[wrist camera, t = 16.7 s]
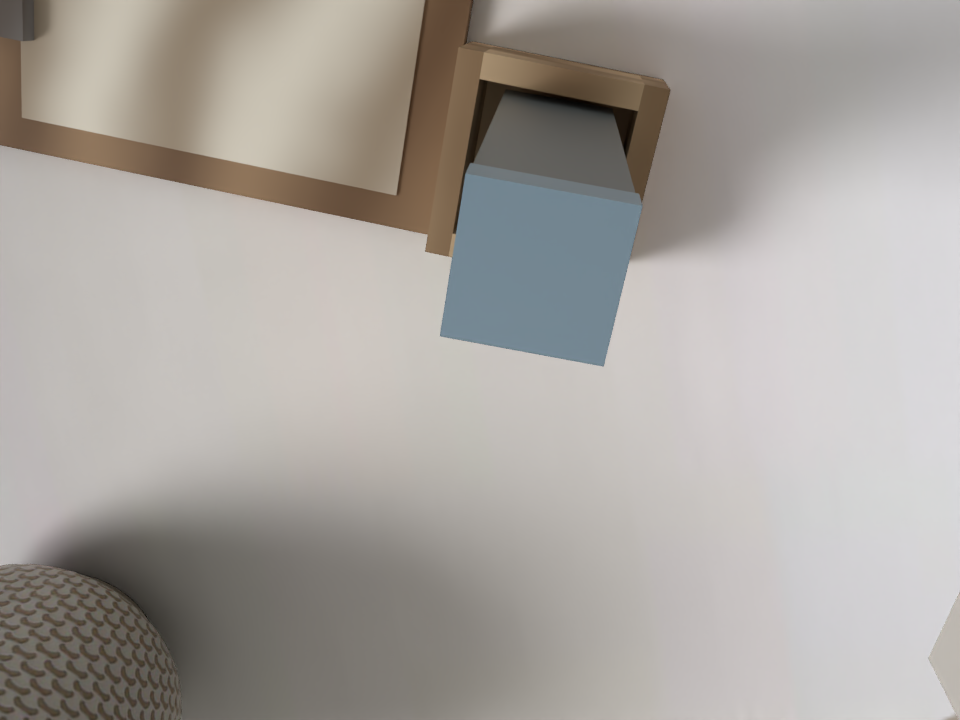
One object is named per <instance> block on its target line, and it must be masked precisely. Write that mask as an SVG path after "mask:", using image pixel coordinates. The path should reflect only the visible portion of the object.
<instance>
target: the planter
mask: <svg viewBox="0 0 960 720" xmlns="http://www.w3.org/2000/svg"><path fill="white" fill-rule="evenodd" d="M181 711H182V700H181V687H180V682H179V678H178V674H177V670H176V667H175V664H174V661H173V659H172V657H171V655H170V652H169V650H168V648H167V646H166V644H165V642H164V641H163V639H162V638H161V636H160V635H159V633H158V631H157V630H156V629H155V628H154V626H153V625H152V624H151V623H150V622H149V620H148V619H147V617H146V616H145V614H144V613H143V611H142V610H141V609H140V608H139V607H138V605H137V604H136V603H135V602H134V601H133V600H132V599H130V598H129V597H128V596H127V595H126V594H124V593H123V592H122V591H120V590H119V589H117V588H116V587H114V586H112V585H110V584H108V583H106V582H104V581H101V580H99V579H96V578H93V577H89V576H85V575H81V574H79V573H76V572H73V571H69V570H65V569H61V568H58V567H52V566H45V565H37V564H8V565H2V566H0V720H180V719H181Z"/></svg>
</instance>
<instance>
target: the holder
mask: <svg viewBox="0 0 960 720" xmlns="http://www.w3.org/2000/svg"><path fill="white" fill-rule="evenodd" d="M506 89H508V90H513V91H519V92H524V93H530V94H535V95H541V96H546V97H552V98H557V99H563V100H568V101H574V102H579V103H585V104H591V105H596V106H602V107H607V108H612V110H613V113H614V117H615V120H616V124H617V128H618V131H619V135H620V139H621V142H622V146H623V150H624V153H625V157H626V161H627V164H628V168H629V171H630V175H631V179H632V182H633V186H634V190H635V193H638V194H639V195H640V199H641V202H642V200H643V196H644V192H645V188H646V184H647V180H648V176H649V172H650V168H651V165H652V161H653V157H654V153H655V149H656V145H657V141H658V137H659V133H660V129H661V125H662V121H663V117H664V113H665V109H666V106H667V102H668V98H669V94H670V88H669V87H668V86H667V84H666V83H665V82H664V80H662V79H657V78H652V77H647V76H642V75H637V74H632V73H627V72H623V71H618V70H613V69H608V68H603V67H598V66H593V65H588V64H583V63H578V62H573V61H568V60H563V59H558V58H553V57H548V56H543V55H538V54H533V53H528V52H523V51H518V50H513V49H508V48H503V47H498V46H493V45H488V44H483V43H478V42H473V41H472V42H470V43H467V44H465V45H463V46H460V47H459V48H458V54H457V60H456V66H455V72H454V78H453V84H452V91H451V97H450V103H449V109H448V115H447V121H446V127H445V133H444V139H443V146H442V152H441V158H440V164H439V170H438V176H437V182H436V188H435V195H434V201H433V207H432V213H431V219H430V225H429V231H428V237H427V243H426V250H425V252H430V253H434V254H439V255H444V256H449V257H452V256H453V250H454V243H455V237H456V231H457V224H458V218H459V212H460V205H461V199H462V193H463V186H464V180H465V174H466V171H467V169H468V167H469V165H470V163H474V161H475V158H476V156H477V154H478V151H479V149H480V147H481V145H482V142H483V140H484V138H485V135H486V133H487V131H488V129H489V126H490V124H491V122H492V120H493V117H494V115H495V113H496V110H497V108H498V106H499V104H500V101H501V99H502V97H503V94H504V92H505V90H506Z"/></svg>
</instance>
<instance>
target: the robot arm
mask: <svg viewBox="0 0 960 720" xmlns="http://www.w3.org/2000/svg"><path fill="white" fill-rule="evenodd" d="M928 659H929V661H930V663H931V665H932V667H933V669H934V671H935V673H936V675H937V677H938V679H939V681H940V683H941V685H942V687H943V689H944V691H945V693H946V695H947V697H948V699H949V701H950V703H951V705H952V707H953V709H954V711H955V713H956V715H957V717H958V719H959V720H960V592H959V594H958V596H957V599H956V601H955V603H954V605H953V607H952V609H951V611H950V613H949V616H948V618H947V620H946V622H945V624H944V626H943V628H942V630H941V632H940V635H939V637H938V639H937V641H936V643H935V645H934V647H933V649H932V652H931V654H930V656H929V658H928Z"/></svg>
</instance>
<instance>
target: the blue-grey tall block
mask: <svg viewBox="0 0 960 720" xmlns="http://www.w3.org/2000/svg"><path fill="white" fill-rule="evenodd" d="M641 210H642V202H641V199H640V195H639V194H638V193H635V190H634V186H633V182H632V179H631V175H630V171H629V168H628V164H627V161H626V157H625V153H624V150H623V146H622V142H621V139H620V135H619V131H618V128H617V124H616V120H615V117H614V113H613V110H612V108H607V107H602V106H596V105H591V104H585V103H579V102H574V101H568V100H563V99H557V98H552V97H546V96H541V95H535V94H530V93H524V92H519V91H513V90H508V89H506V90H505V92H504V94H503V97H502V99H501V101H500V104H499V106H498V108H497V110H496V113H495V115H494V117H493V120H492V122H491V124H490V126H489V129H488V131H487V133H486V135H485V138H484V140H483V142H482V145H481V147H480V149H479V151H478V154H477V156H476V158H475V161H474V163H470V165H469V167H468V169H467V171H466V174H465V180H464V186H463V193H462V199H461V205H460V212H459V218H458V224H457V231H456V237H455V243H454V250H453V256H452V263H451V269H450V275H449V282H448V288H447V294H446V301H445V307H444V313H443V320H442V326H441V333H440V336H442V337H447V338H452V339H458V340H463V341H469V342H474V343H479V344H485V345H490V346H496V347H501V348H506V349H512V350H517V351H523V352H528V353H534V354H539V355H544V356H550V357H555V358H561V359H566V360H571V361H577V362H582V363H588V364H593V365H598V366H604V363H605V358H606V354H607V350H608V346H609V342H610V338H611V334H612V330H613V325H614V321H615V317H616V313H617V309H618V305H619V301H620V297H621V293H622V288H623V284H624V280H625V276H626V272H627V268H628V264H629V260H630V255H631V251H632V247H633V243H634V239H635V235H636V231H637V227H638V222H639V218H640V214H641Z"/></svg>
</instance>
